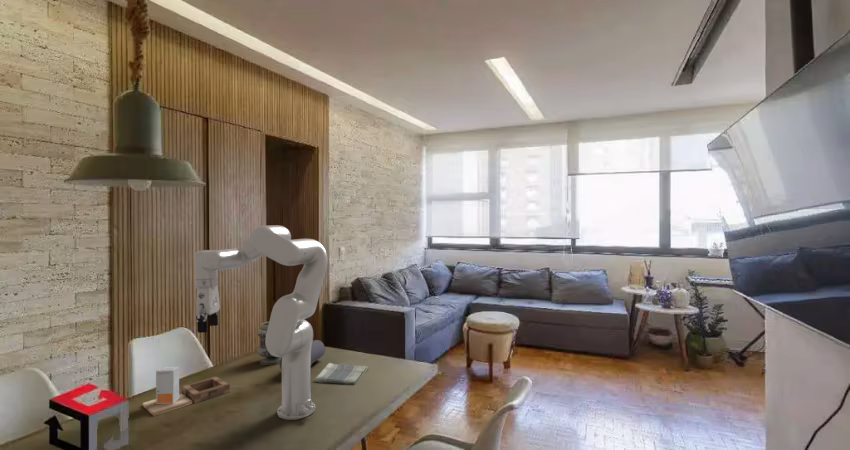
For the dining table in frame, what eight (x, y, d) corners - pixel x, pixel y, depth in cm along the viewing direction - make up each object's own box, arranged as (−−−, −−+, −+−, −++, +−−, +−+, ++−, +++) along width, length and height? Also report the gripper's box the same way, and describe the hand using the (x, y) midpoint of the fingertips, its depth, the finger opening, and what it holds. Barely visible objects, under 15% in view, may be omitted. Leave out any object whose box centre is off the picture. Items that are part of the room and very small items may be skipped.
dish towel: (355, 386, 162) (355, 378, 162) (313, 383, 165) (313, 375, 165) (369, 369, 181) (369, 362, 181) (331, 367, 184) (331, 360, 184)
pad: (192, 403, 146) (192, 400, 146) (153, 416, 137) (153, 412, 137) (179, 394, 154) (179, 391, 154) (142, 405, 145) (142, 402, 145)
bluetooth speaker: (309, 358, 194) (309, 337, 193) (326, 360, 191) (326, 339, 191) (278, 376, 172) (278, 352, 172) (296, 378, 169) (296, 355, 169)
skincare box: (155, 404, 143) (155, 371, 143) (162, 399, 147) (161, 366, 147) (173, 404, 144) (173, 370, 143) (179, 398, 148) (179, 366, 148)
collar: (229, 392, 156) (229, 384, 156) (194, 403, 146) (194, 395, 146) (215, 383, 164) (215, 376, 164) (181, 393, 155) (181, 386, 155)
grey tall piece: (279, 355, 198) (279, 318, 198) (288, 362, 189) (288, 323, 189) (253, 360, 191) (253, 322, 190) (262, 368, 181) (261, 328, 181)
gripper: (207, 286, 144) (209, 334, 144) (225, 279, 161) (227, 322, 161) (185, 287, 143) (186, 335, 143) (205, 280, 160) (207, 323, 160)
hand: (208, 328), depth 152 cm, fingers open, 9 cm apart
